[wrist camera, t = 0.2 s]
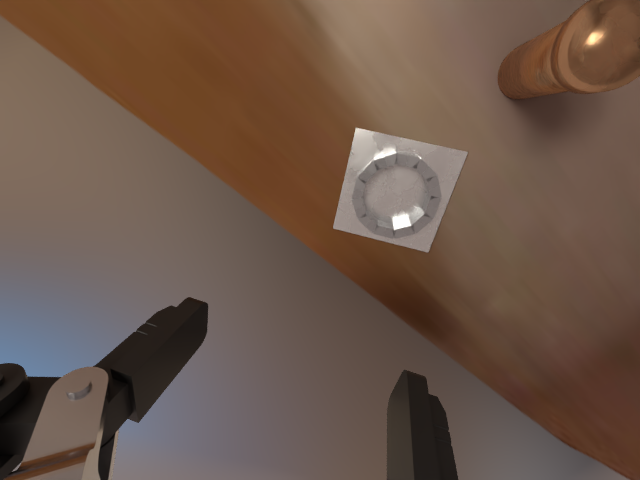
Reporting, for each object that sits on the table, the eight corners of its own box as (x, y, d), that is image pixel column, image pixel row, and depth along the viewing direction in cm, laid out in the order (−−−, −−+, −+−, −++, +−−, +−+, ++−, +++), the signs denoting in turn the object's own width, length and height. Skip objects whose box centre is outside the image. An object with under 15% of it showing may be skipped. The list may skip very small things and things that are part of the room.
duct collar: (356, 127, 34) (354, 128, 31) (466, 151, 32) (474, 154, 30) (333, 226, 39) (330, 234, 36) (427, 250, 38) (431, 260, 35)
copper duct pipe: (509, 32, 28) (592, -25, 17) (570, 43, 27) (697, -9, 16) (483, 97, 30) (543, 83, 19) (540, 108, 30) (633, 100, 19)
